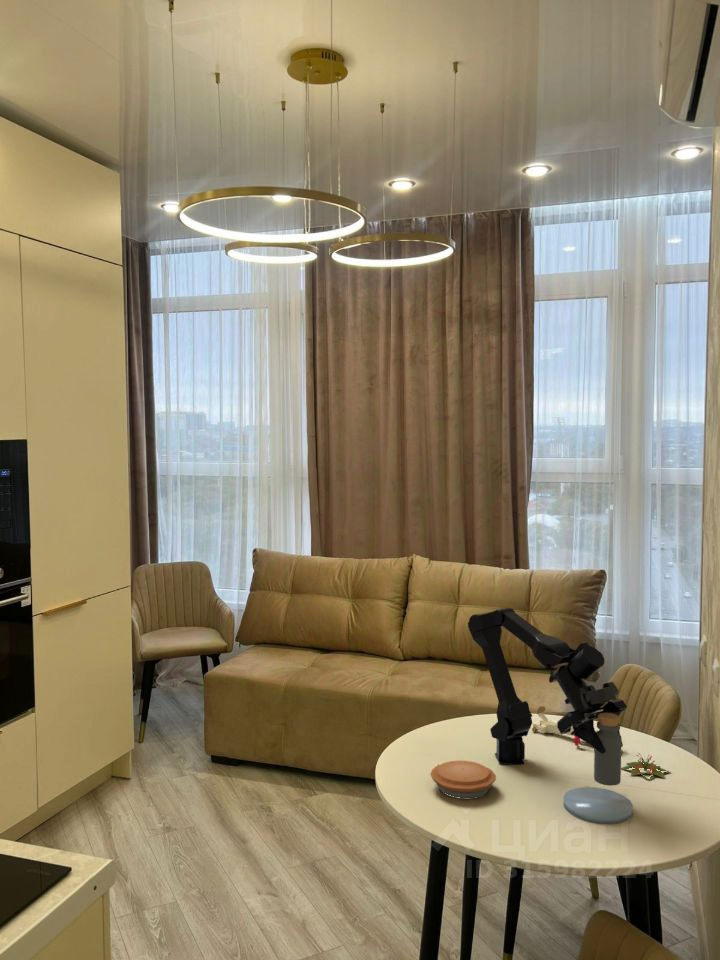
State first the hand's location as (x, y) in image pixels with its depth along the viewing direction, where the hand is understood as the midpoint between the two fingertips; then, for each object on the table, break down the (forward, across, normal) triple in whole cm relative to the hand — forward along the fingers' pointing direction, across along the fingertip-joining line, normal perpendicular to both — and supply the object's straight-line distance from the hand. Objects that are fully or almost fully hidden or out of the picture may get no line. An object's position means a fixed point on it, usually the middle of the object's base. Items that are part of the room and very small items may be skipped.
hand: (612, 749), depth 180 cm
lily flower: (+4, +24, +16) cm, 29 cm away
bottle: (+5, 0, +6) cm, 8 cm away
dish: (+8, -3, +10) cm, 14 cm away
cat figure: (-12, +25, +32) cm, 43 cm away
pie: (-9, -22, +28) cm, 37 cm away
